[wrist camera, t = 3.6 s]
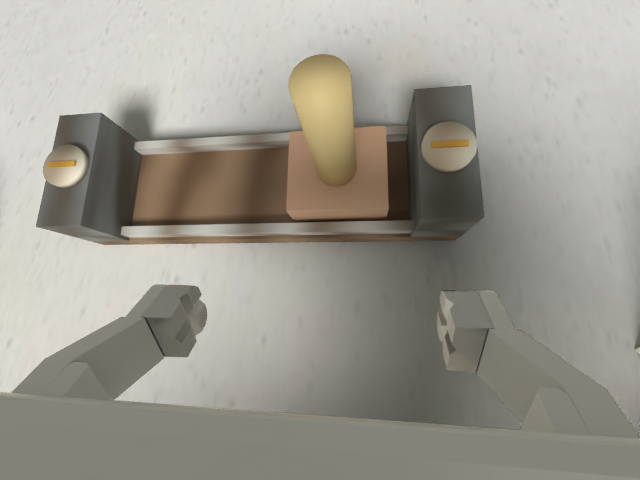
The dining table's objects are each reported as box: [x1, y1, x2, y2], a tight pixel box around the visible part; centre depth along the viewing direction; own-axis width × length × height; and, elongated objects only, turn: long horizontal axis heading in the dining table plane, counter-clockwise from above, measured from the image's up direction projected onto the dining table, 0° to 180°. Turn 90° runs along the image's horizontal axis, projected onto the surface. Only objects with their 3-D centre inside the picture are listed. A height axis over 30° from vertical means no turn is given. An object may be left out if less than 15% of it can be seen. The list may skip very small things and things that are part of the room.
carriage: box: [286, 54, 389, 221], centre depth 23 cm, size 8×7×13 cm
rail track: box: [36, 85, 484, 245], centre depth 28 cm, size 34×10×8 cm, turn 89°
